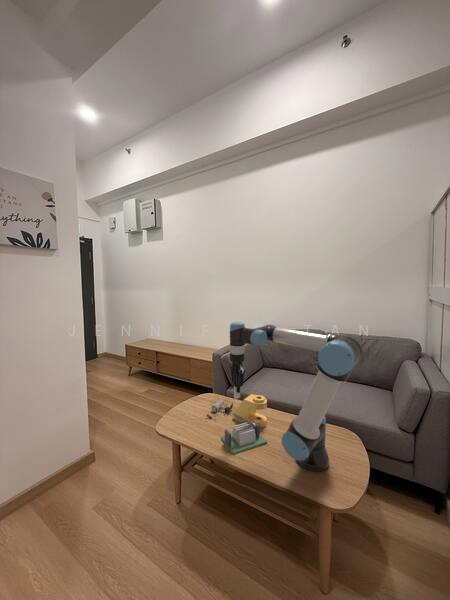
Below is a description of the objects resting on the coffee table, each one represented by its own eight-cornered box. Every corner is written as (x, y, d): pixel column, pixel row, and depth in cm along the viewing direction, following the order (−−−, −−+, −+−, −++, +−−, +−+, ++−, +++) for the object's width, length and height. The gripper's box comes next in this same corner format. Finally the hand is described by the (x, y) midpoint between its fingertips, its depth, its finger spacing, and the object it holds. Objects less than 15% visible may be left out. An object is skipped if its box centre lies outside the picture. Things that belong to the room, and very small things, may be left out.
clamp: (269, 422, 147) (269, 396, 146) (262, 430, 140) (262, 402, 139) (241, 412, 159) (241, 388, 158) (233, 418, 151) (233, 393, 150)
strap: (251, 423, 134) (252, 421, 134) (255, 427, 131) (256, 425, 131) (232, 414, 128) (233, 411, 129) (235, 417, 125) (236, 415, 125)
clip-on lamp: (218, 426, 148) (234, 408, 162) (217, 418, 146) (234, 400, 160) (203, 419, 155) (220, 402, 169) (202, 410, 153) (219, 394, 167)
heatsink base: (252, 428, 141) (252, 416, 140) (267, 443, 128) (267, 429, 128) (221, 438, 132) (221, 424, 132) (232, 454, 120) (232, 439, 119)
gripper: (250, 355, 121) (249, 401, 123) (237, 348, 133) (237, 391, 134) (236, 357, 118) (236, 404, 119) (224, 350, 130) (225, 393, 131)
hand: (237, 397), depth 127 cm, fingers closed
